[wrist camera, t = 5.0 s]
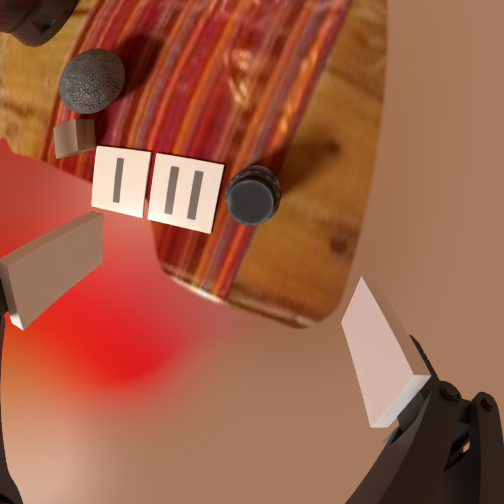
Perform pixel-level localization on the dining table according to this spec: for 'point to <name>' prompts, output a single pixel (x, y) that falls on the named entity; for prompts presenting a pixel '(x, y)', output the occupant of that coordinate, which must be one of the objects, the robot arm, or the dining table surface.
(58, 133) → the walnut block
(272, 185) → the pill bottle
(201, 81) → the dining table surface
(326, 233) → the dining table surface
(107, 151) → the coaster
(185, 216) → the coaster
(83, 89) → the decorative ball
